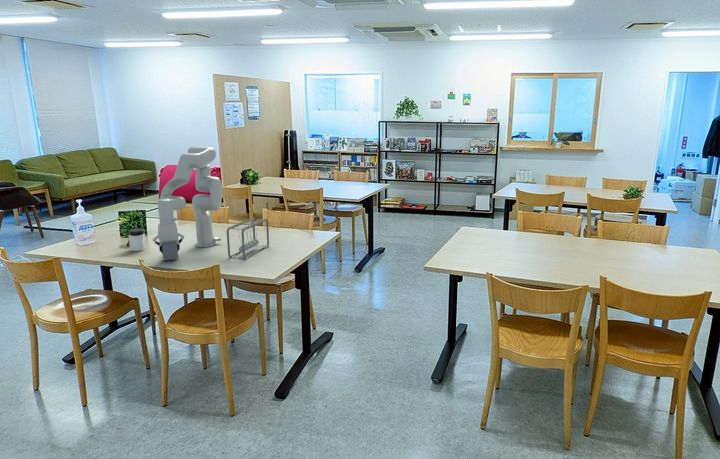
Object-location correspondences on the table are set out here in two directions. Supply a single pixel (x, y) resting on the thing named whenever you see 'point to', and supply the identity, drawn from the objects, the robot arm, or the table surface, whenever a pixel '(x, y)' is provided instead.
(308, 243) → the table surface
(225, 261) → the table surface
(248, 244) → the newton's cradle
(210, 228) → the robot arm
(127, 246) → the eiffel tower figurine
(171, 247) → the gray cube
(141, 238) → the jar
